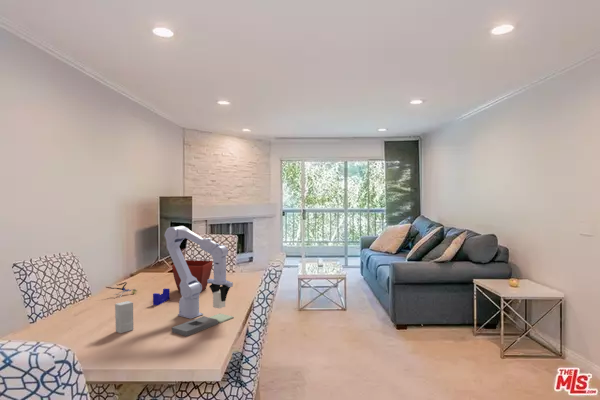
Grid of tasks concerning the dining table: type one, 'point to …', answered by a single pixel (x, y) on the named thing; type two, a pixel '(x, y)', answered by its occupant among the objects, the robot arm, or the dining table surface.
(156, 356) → the dining table surface
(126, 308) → the skincare box
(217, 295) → the plug
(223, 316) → the mat
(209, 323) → the gray square hole board
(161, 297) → the cable clip
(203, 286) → the plant pot
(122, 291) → the figurine
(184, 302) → the robot arm
